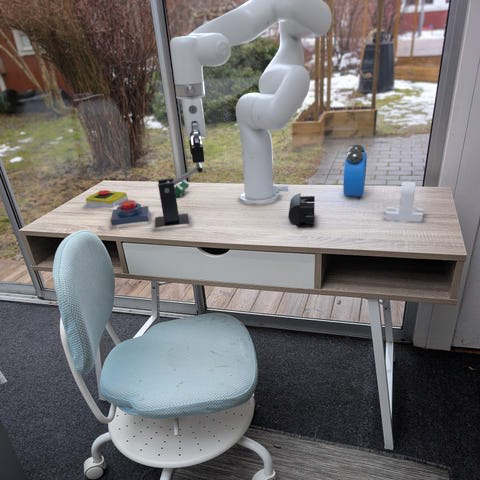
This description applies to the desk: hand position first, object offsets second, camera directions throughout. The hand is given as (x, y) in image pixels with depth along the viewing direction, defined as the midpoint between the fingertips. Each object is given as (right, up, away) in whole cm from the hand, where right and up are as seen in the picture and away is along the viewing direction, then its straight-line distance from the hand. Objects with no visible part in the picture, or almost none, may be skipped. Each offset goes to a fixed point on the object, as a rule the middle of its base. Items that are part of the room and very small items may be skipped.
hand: (197, 157), depth 133 cm
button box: (-22, -15, +14) cm, 30 cm away
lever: (-4, -6, +3) cm, 8 cm away
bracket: (-8, -17, +9) cm, 21 cm away
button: (-22, -12, +11) cm, 27 cm away
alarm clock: (+48, -6, +19) cm, 52 cm away
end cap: (+30, -17, +3) cm, 35 cm away
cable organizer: (+58, -17, +1) cm, 61 cm away
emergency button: (-33, -6, +28) cm, 44 cm away
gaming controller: (-9, -2, +32) cm, 34 cm away
